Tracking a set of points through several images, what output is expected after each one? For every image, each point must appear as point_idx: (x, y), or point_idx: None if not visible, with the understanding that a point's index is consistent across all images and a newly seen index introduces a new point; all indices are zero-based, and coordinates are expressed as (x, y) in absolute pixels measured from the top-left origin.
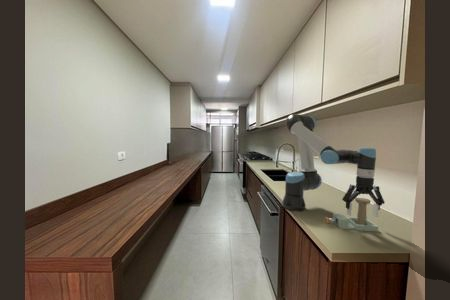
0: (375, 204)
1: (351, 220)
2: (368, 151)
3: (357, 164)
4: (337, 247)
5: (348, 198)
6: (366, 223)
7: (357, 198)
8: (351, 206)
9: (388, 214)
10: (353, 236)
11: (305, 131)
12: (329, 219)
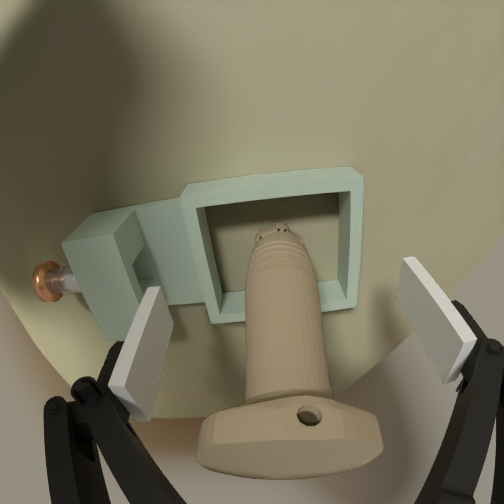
0: (450, 362)
1: (203, 257)
2: None
3: None
4: None
5: (98, 468)
6: (341, 201)
7: (234, 450)
8: (154, 394)
9: None
10: (173, 358)
11: None
12: (56, 294)
